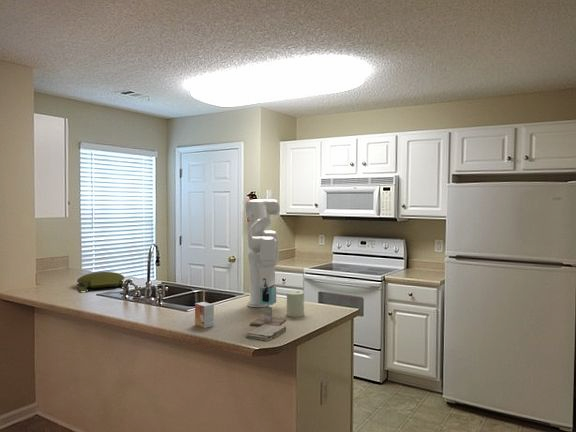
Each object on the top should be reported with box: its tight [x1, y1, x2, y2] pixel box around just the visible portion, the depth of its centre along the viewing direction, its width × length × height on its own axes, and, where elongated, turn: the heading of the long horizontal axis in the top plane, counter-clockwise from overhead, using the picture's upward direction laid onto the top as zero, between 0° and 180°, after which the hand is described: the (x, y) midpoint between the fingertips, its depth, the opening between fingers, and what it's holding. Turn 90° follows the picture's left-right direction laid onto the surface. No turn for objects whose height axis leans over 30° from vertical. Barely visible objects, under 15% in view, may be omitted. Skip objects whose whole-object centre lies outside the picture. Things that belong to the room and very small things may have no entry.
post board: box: [249, 306, 287, 327], centre depth 222 cm, size 13×14×8 cm
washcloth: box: [245, 324, 287, 342], centre depth 204 cm, size 12×18×3 cm, turn 155°
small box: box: [194, 301, 215, 329], centre depth 218 cm, size 8×6×10 cm
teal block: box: [260, 285, 277, 306], centre depth 221 cm, size 6×6×8 cm
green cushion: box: [76, 271, 125, 292], centre depth 317 cm, size 35×31×10 cm
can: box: [286, 290, 305, 318], centre depth 238 cm, size 9×9×12 cm
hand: (268, 299), depth 221 cm, fingers closed on teal block, 6 cm apart
